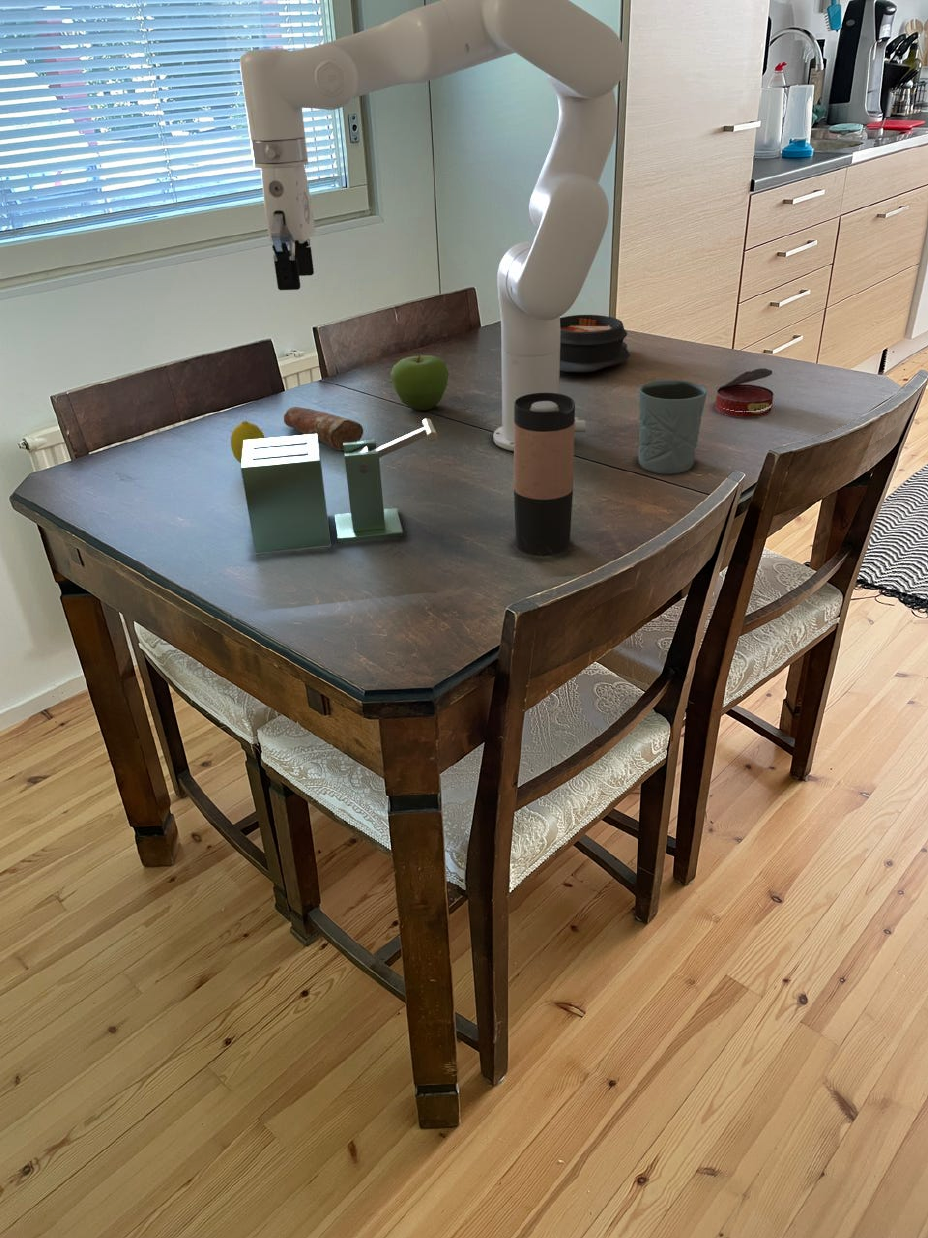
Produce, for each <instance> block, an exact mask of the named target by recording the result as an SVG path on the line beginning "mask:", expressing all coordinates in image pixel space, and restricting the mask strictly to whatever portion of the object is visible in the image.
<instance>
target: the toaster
mask: <svg viewBox="0 0 928 1238" xmlns="http://www.w3.org/2000/svg"><path fill="white" fill-rule="evenodd" d="M319 442H320V441H318V434H310V435H305V434H300V435H290V436H289V435H288V436H278V437H267V438H265V439H254V440H244V441H243V451H242V461H241V463H240V471H241V478H242V483H243V484H242V485H243V489H244V493H245V494H244V495H245V499H246V500H245V501H246V506H247V513H248V519H249V525H250V530H251V537H252V541H253V547H254V555H255V556H260V555H268V554H278V553H287V552H297V551H307V550H315V549H324V548H325V549H326V548H331V547H332V543H331V535H330V533H331V532H330V524H329V515H328V508H327V501H326V493H325V485H324V484H325V483H324V476H323V467H322V459H321V452H320V443H319Z"/></svg>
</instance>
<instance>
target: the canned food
mask: <svg viewBox="0 0 928 1238" xmlns="http://www.w3.org/2000/svg"><path fill="white" fill-rule="evenodd" d="M772 374H773V370H772V369H768V368H762V367H761V368H755V369H753V370H751V371H750V370H748V371H745V372H743V373H741V374H740V375H738V376H737V377H735V378H734V379H732V380H731V381H729V382H727V383H725V384H724V385H721V386H720V387H717V388H716V399H715V400H716V401H715V407H714V408H715V411H717V413H719V414H721V415H725V416H728V417H732V418H740V419H755V418H761V417H764V416H767V415H769V414H771V412H772V407H773V400H774V392H773V390H771V389H769V388H767V387H765V386H761V385H755V384H748V383H750V382H753V381H754V382H755V381H757V380H761V379H766V378H767V377H769V376H771V375H772ZM745 383H746V384H745ZM716 403H717V404H716ZM771 404H772V406H771V408H769V409H767V410H765V411H760V412H746V411H756V410H761V409H764V408H766V407H769V406H770V405H771ZM719 406H720V407H719ZM721 407H722V408H721ZM723 408H725V409H723ZM726 409H729V410H726ZM730 410H734V411H730ZM735 411H743V412H735ZM744 411H745V412H744Z"/></svg>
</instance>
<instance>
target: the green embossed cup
mask: <svg viewBox="0 0 928 1238" xmlns="http://www.w3.org/2000/svg"><path fill="white" fill-rule="evenodd" d="M707 395H708V393H707V388H705V387H704V386H703V385H700V384H698V383H695V382H691V381H686V380H675V379H668V380H667V379H666V380H665V379H664V380H655V381H654V380H653V381H649V382H646V383H644V384H642V385H640V386H639V388H638V409H639V413H638V415H639V416H638V420H639V421H638V427H639V428H638V433H639V434H638V446H639V447H638V463H639V466H640V467H641V468H642V469H644V470H646V471H649V472H652V473H657V474H665V475H666V474H669V475H670V474H680V473H684V472H687V471H688V470H691V468H692V467H693V466H694V462H695V457H696V448H697V447H698V441H699V435H700V427H701V423H702V416H703V412H704V407H705V404H706V399H707Z"/></svg>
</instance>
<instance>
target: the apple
mask: <svg viewBox="0 0 928 1238" xmlns="http://www.w3.org/2000/svg"><path fill="white" fill-rule="evenodd" d="M449 373H450V372H449V370H448V368H447V365H446V362H445V361H444V360H443V359H441V358H439V357H437V356H435V355H430V354H429V355H427V354H423V355H422V354H421V355H420V354H419V355H412V356H408V357H404V358H402V359H400V360H399V361H398V362H397V363H396V364H393V366H392V370H391V372H390V378H391V382H392V385H393V388H394V390H395V392H396V394H397V396H398V397H399V399H400V401H401V403H403V404H404V405H405V406H407V407H409V408H410V409H412V410H414V411H421V412H422V411H429V410H431V409H433V408H434V407H435V406H436V405H437V404H439V403H440V402H441V400H442V398H443V395H444V394H445V392H446V388H447V386H448V379H449Z"/></svg>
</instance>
